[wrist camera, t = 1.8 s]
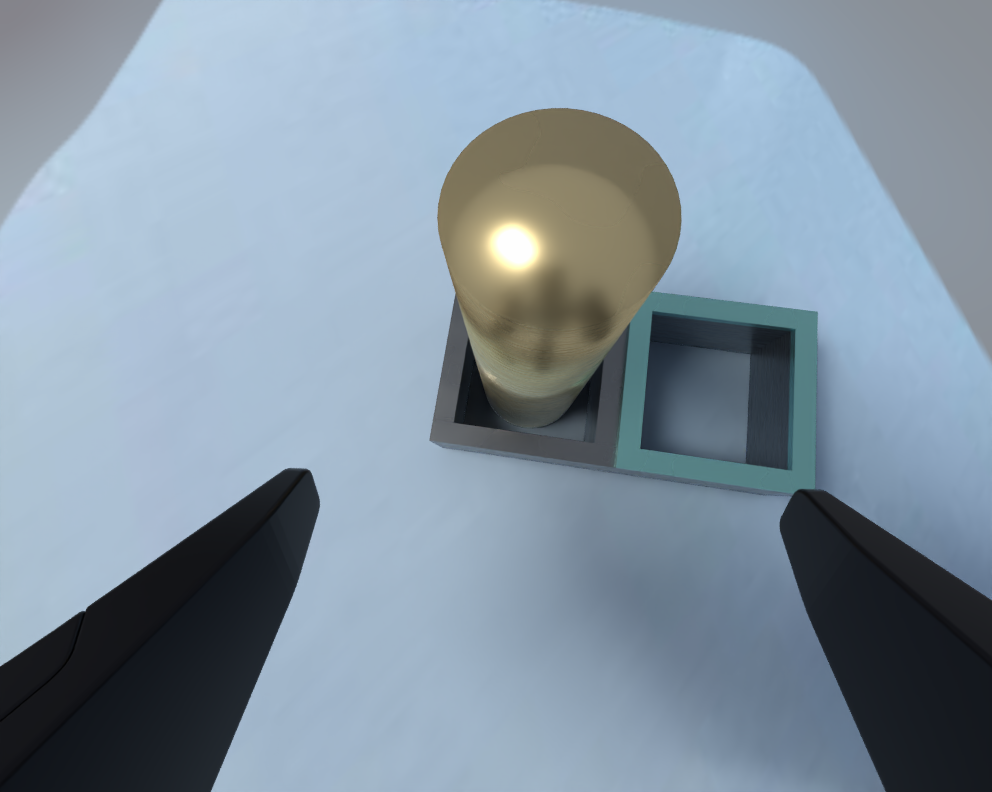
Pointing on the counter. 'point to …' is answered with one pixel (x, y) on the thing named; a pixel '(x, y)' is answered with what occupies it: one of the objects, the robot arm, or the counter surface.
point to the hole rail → (621, 393)
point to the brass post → (553, 250)
